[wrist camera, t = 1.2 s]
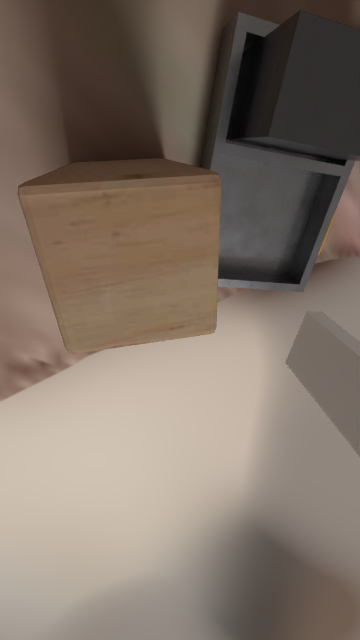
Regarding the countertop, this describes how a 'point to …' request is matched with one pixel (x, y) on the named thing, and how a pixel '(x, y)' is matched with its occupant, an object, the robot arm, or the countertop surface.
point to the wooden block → (127, 250)
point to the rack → (281, 144)
